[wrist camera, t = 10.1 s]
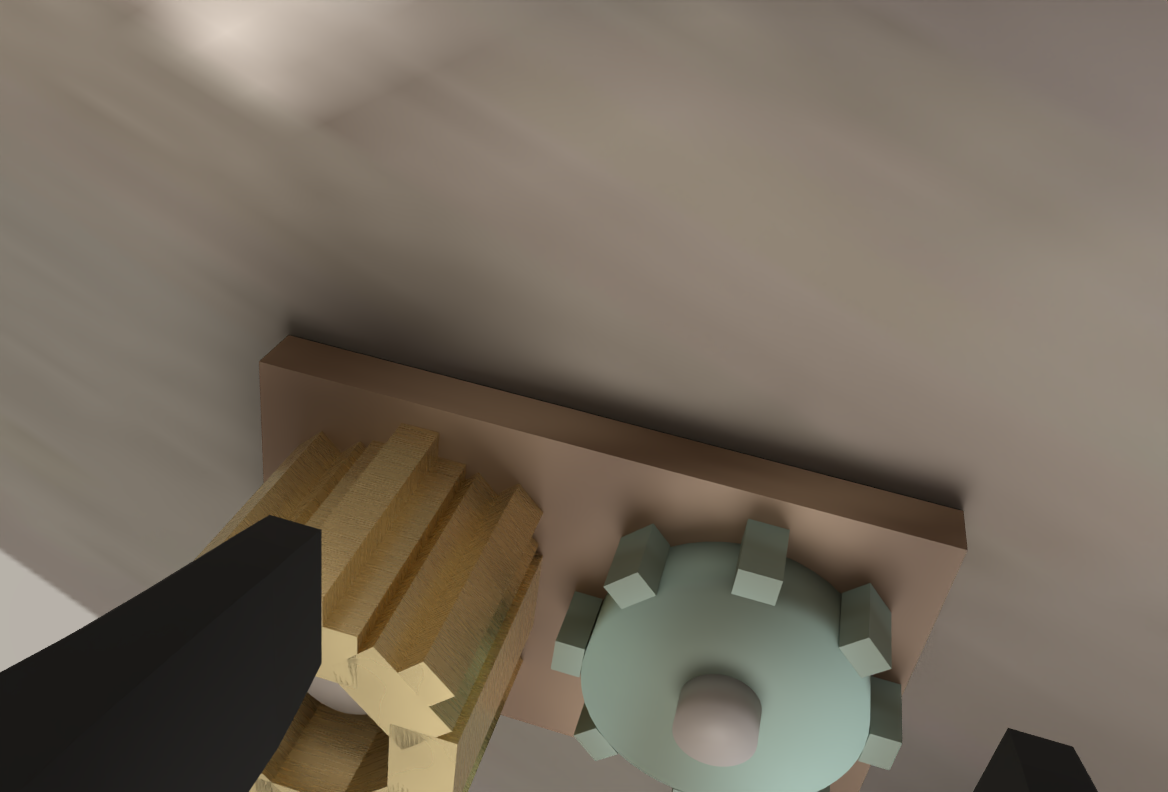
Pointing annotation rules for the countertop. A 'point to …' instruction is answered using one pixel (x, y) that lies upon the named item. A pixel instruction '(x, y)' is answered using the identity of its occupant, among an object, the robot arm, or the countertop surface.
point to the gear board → (612, 497)
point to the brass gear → (403, 611)
